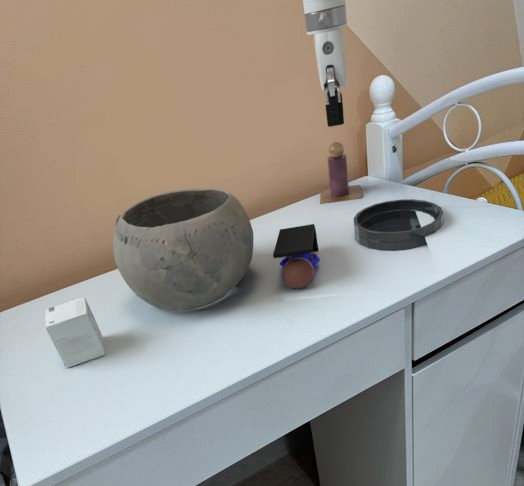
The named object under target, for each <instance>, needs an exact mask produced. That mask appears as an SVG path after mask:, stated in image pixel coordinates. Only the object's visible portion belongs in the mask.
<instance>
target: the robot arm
mask: <svg viewBox="0 0 524 486" xmlns="http://www.w3.org/2000/svg"><path fill="white" fill-rule="evenodd" d="M302 5H303V13H304V21H305V30H306V36H312V35H313V42H314V51H315V59H316V66H317V72H318V78H319V83H320V88H321V91H322V92H323V93H325V103H326V104H324V106H325V114H326V122H327V127H329V128H331V127H337V126H341V125H344V124H345V118H344V103H343V94H342V92H341V87H343V90H344V89H346V88H347V87H348V81H347V80H348V79H347V68H346V55H345V43H344V36H343V31H342V29H344V28H347V27H348V19H347V8H346V7H347V6H346V0H302Z"/></svg>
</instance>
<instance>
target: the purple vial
mask: <svg viewBox="0 0 524 486" xmlns="http://www.w3.org/2000/svg"><path fill="white" fill-rule="evenodd" d="M344 152H345V147H344V145H343V144H342V143H341V142H339V141H334V142H332V143H330V145H329V147H328V154H329V156H328V157H327V169H328V178H329V180H328V181H329V189H330V190H331V196H333V197H341V196H345V195H347V194H349V186H350V184H349V174H348V173H349V172H348V160H347V159H348V158H347V155H346V154H344Z"/></svg>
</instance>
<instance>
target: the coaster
mask: <svg viewBox="0 0 524 486" xmlns="http://www.w3.org/2000/svg"><path fill="white" fill-rule="evenodd" d="M362 199H363V196H362V188H361V184H354V185H349V194H347V195H345V196H341V197H333V196H331V190H330V188H323V189H320V196H319V205H324V204H325V205H326V204H333V203H339V202H348V201H355V200H362Z"/></svg>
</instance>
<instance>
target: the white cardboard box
mask: <svg viewBox="0 0 524 486" xmlns="http://www.w3.org/2000/svg"><path fill="white" fill-rule="evenodd" d="M44 328H45V331H46V332H47V335H48V336H49V338H50V340H51V342H52V344H53V347H54V348H55V350H56V352H57V354H58V356H59V358H60V359H61V362H62V363H63V366H64V367H65V368H66V369H68V368H71V367H74V366H78V365H79V364H83V363H85V362H88V361H91V360H94V359H97V358H100V357H102V356H105V355H106V352H105V347H104V340H103V339H104V337H103V334H102V331H101V329H100V327H99V325H98V323H97V320H96V318H95V316H94V314H93V311H92V309H91V307H90V305H89V303H88V301H87V298H86V297H85V296H82V297H79V298H76V299H73V300H70V301H68V302H64V303H61V304H58V305H55V306H52V307H49V308H46V309H45V316H44Z"/></svg>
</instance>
